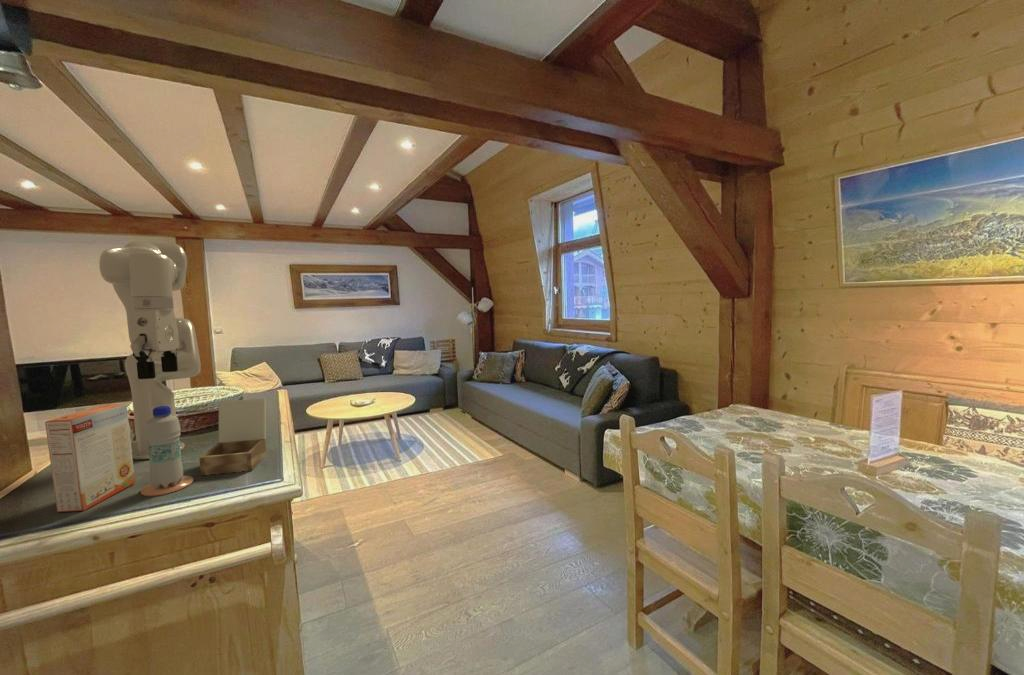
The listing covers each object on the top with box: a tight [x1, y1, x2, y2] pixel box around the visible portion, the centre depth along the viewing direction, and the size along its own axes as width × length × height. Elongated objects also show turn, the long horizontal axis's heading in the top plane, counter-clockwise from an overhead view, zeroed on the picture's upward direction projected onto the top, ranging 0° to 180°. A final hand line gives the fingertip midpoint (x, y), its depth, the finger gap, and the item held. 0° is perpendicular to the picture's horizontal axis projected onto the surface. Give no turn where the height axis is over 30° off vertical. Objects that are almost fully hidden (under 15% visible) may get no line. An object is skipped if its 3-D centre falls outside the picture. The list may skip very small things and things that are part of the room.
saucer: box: [140, 475, 194, 497], centre depth 101 cm, size 10×10×1 cm
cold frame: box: [199, 439, 267, 476], centre depth 114 cm, size 12×12×5 cm
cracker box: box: [44, 403, 136, 513], centre depth 95 cm, size 14×6×21 cm, turn 5°
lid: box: [218, 398, 267, 443], centre depth 121 cm, size 12×4×17 cm, turn 105°
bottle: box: [145, 406, 184, 489], centre depth 100 cm, size 7×7×20 cm
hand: (159, 375), depth 99 cm, fingers open, 9 cm apart
